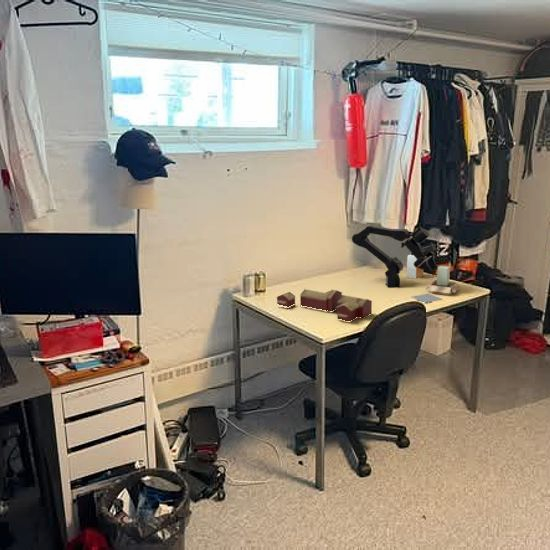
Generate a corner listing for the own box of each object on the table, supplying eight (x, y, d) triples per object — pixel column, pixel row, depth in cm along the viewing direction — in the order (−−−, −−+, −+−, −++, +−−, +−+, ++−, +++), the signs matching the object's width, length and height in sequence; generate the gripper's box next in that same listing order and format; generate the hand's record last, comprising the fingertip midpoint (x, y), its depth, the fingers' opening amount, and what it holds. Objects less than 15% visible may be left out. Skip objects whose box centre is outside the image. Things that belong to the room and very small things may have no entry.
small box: (416, 279, 307) (416, 256, 304) (406, 277, 312) (407, 255, 308) (423, 276, 313) (424, 254, 309) (414, 274, 317) (414, 252, 314)
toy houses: (374, 312, 254) (374, 292, 251) (352, 325, 238) (352, 303, 235) (295, 297, 280) (295, 279, 278) (271, 308, 265) (271, 288, 262)
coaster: (410, 297, 274) (410, 296, 274) (427, 294, 278) (427, 293, 278) (425, 303, 264) (425, 302, 264) (442, 300, 268) (442, 299, 268)
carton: (424, 294, 279) (424, 285, 278) (432, 286, 291) (432, 278, 290) (453, 297, 272) (453, 289, 271) (460, 290, 284) (460, 281, 283)
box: (436, 291, 281) (437, 267, 277) (439, 289, 285) (440, 265, 281) (446, 293, 278) (447, 268, 275) (448, 290, 282) (450, 266, 279)
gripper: (420, 242, 272) (441, 265, 269) (431, 235, 287) (451, 257, 284) (404, 255, 278) (425, 278, 275) (416, 248, 293) (435, 270, 290)
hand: (435, 271), depth 281 cm, fingers open, 9 cm apart
